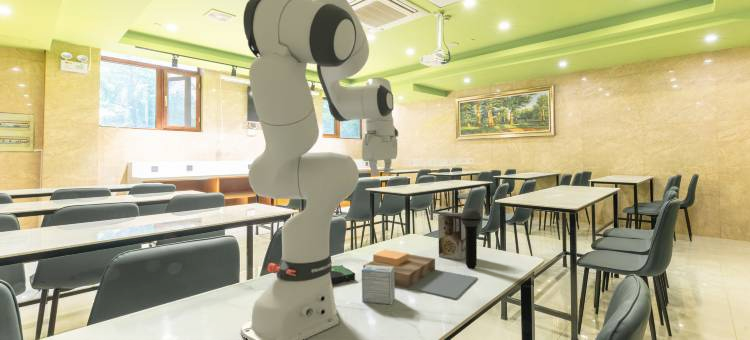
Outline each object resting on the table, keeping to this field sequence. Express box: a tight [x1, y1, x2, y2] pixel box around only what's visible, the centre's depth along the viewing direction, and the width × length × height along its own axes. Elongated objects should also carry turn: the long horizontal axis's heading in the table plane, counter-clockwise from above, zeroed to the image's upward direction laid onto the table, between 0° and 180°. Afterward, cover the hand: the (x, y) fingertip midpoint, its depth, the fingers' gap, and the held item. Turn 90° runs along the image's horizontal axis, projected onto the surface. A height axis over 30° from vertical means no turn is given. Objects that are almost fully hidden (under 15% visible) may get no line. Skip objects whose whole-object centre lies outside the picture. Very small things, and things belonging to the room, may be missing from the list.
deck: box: [362, 253, 436, 290], centre depth 109 cm, size 18×16×4 cm
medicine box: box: [361, 265, 396, 305], centre depth 90 cm, size 8×4×9 cm, turn 74°
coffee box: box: [437, 211, 466, 261], centre depth 127 cm, size 9×6×16 cm
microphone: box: [461, 208, 482, 270], centre depth 114 cm, size 7×7×20 cm
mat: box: [408, 269, 478, 300], centre depth 101 cm, size 18×14×1 cm
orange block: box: [372, 249, 409, 265], centre depth 111 cm, size 7×9×2 cm
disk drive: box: [330, 264, 356, 286], centre depth 106 cm, size 10×3×15 cm
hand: (381, 174), depth 110 cm, fingers open, 8 cm apart
